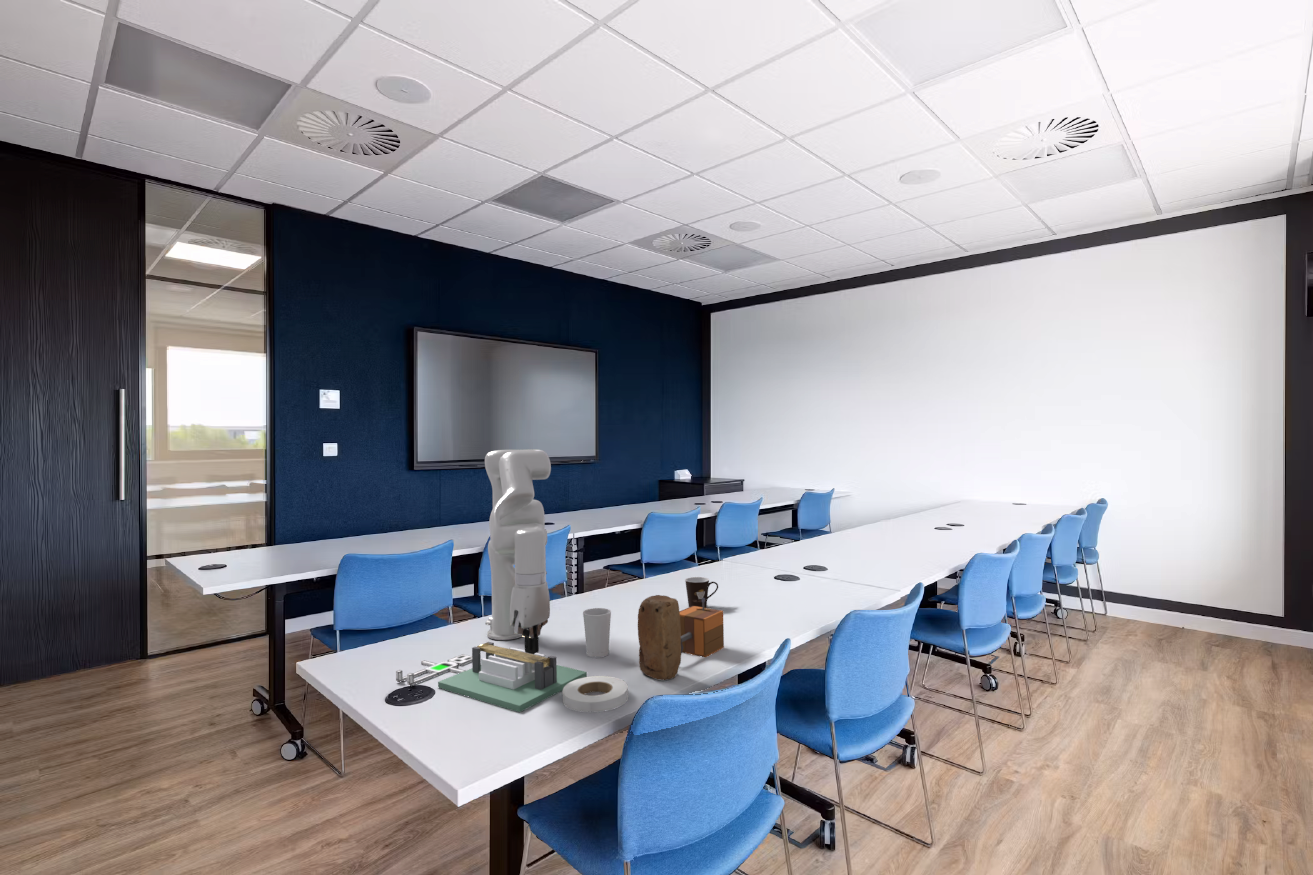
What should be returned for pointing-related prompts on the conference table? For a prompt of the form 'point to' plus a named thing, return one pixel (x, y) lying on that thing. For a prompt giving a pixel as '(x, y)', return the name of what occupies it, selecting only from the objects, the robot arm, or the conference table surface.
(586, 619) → the cup
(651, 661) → the block
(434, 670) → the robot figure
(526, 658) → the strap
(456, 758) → the conference table surface
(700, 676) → the conference table surface
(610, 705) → the roll of tape
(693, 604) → the coffee mug
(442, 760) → the conference table surface
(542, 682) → the motherboard
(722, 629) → the clamp
